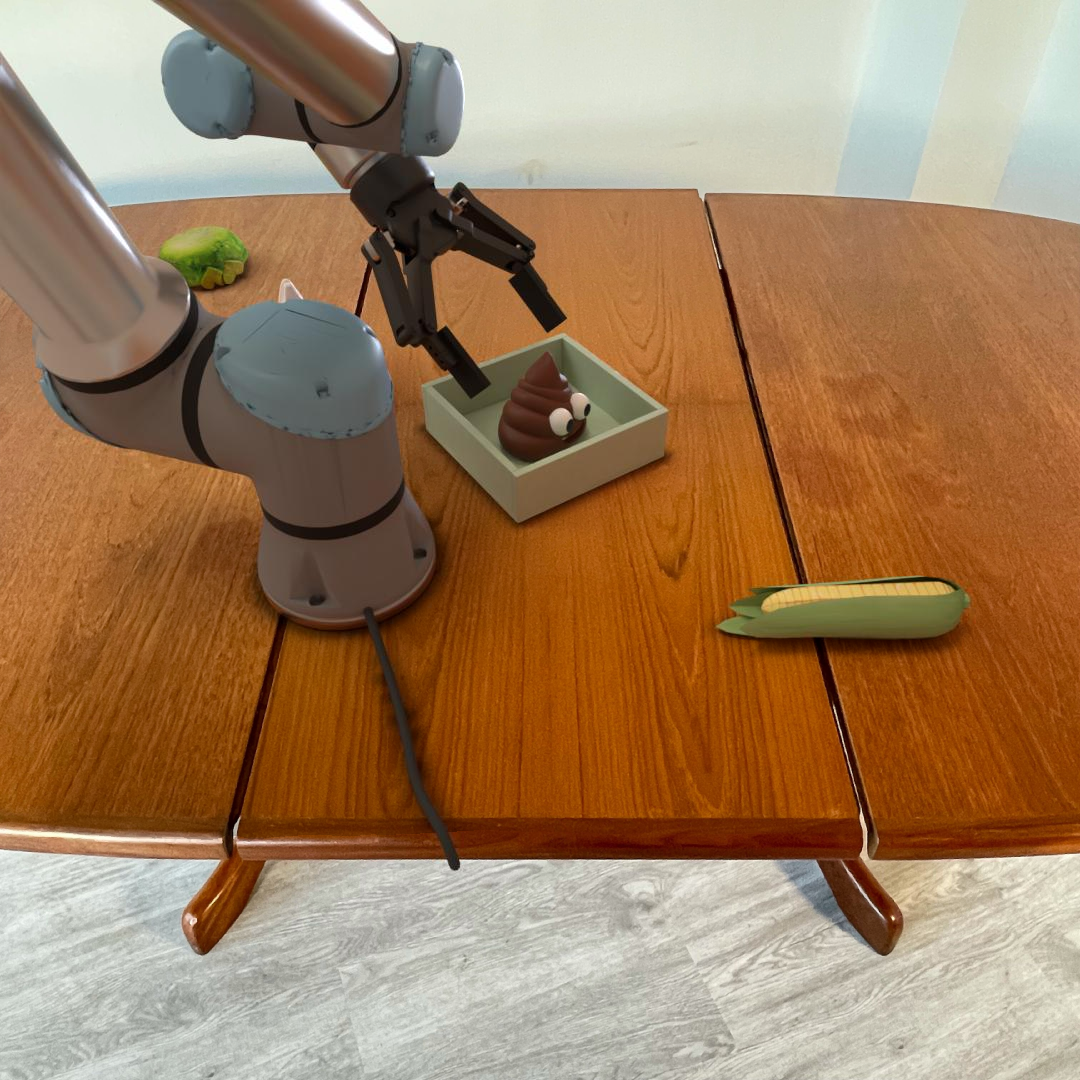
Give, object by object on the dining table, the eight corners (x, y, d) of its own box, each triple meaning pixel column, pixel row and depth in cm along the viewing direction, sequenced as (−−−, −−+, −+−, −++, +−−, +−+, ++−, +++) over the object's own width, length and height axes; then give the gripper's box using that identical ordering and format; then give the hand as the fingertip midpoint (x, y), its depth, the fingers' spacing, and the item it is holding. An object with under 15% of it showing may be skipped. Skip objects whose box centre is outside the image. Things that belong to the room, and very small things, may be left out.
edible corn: (968, 646, 70) (987, 609, 67) (720, 655, 70) (728, 617, 67) (944, 599, 74) (962, 561, 71) (709, 607, 74) (716, 569, 71)
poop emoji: (537, 399, 95) (537, 322, 88) (605, 426, 91) (609, 347, 85) (481, 446, 89) (475, 367, 82) (550, 477, 85) (550, 397, 79)
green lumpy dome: (266, 264, 119) (257, 228, 116) (205, 298, 112) (194, 261, 109) (206, 245, 124) (196, 210, 120) (145, 277, 117) (132, 241, 113)
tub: (664, 456, 88) (669, 410, 85) (517, 523, 81) (516, 477, 78) (563, 376, 99) (564, 332, 95) (426, 429, 92) (420, 384, 88)
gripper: (438, 148, 90) (562, 318, 95) (264, 241, 75) (422, 438, 80) (478, 102, 84) (608, 284, 89) (299, 192, 69) (467, 407, 74)
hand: (521, 357), depth 84 cm, fingers open, 13 cm apart
